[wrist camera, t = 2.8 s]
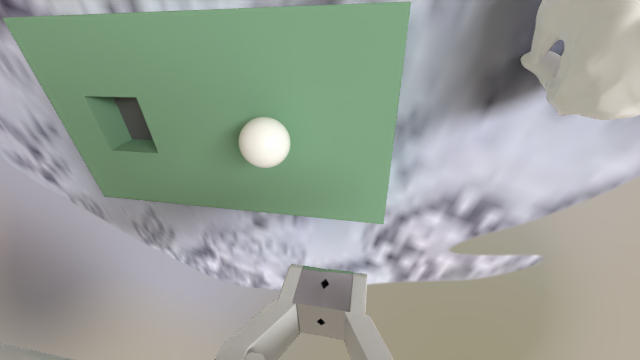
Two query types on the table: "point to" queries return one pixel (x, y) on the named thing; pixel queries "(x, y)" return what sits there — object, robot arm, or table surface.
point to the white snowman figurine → (588, 57)
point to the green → (229, 102)
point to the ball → (264, 142)
